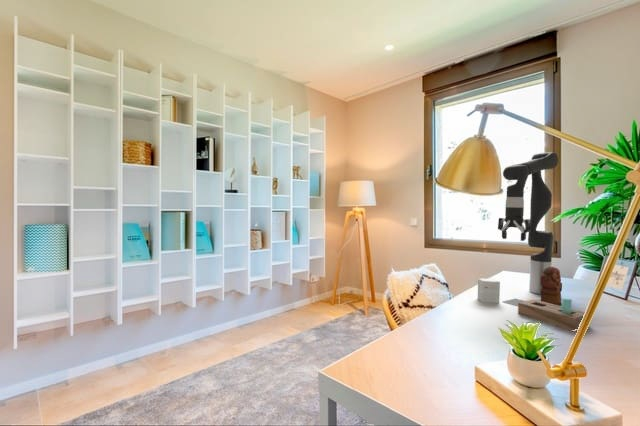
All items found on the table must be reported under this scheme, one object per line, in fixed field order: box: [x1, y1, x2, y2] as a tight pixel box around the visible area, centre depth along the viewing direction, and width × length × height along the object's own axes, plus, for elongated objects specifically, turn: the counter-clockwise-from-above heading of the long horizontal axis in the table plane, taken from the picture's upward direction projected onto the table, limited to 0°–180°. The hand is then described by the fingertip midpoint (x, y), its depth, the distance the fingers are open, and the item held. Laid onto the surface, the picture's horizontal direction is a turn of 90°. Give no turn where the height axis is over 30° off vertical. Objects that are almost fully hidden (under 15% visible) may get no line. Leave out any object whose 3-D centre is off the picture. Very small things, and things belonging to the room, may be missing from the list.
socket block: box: [517, 298, 585, 332], centre depth 127 cm, size 12×20×5 cm, turn 30°
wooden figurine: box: [540, 266, 563, 306], centre depth 146 cm, size 12×6×18 cm, turn 125°
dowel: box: [561, 297, 573, 314], centre depth 123 cm, size 3×3×10 cm
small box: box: [477, 278, 501, 304], centre depth 150 cm, size 8×6×10 cm
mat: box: [502, 298, 525, 308], centre depth 147 cm, size 12×12×1 cm
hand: (513, 239), depth 153 cm, fingers open, 8 cm apart
